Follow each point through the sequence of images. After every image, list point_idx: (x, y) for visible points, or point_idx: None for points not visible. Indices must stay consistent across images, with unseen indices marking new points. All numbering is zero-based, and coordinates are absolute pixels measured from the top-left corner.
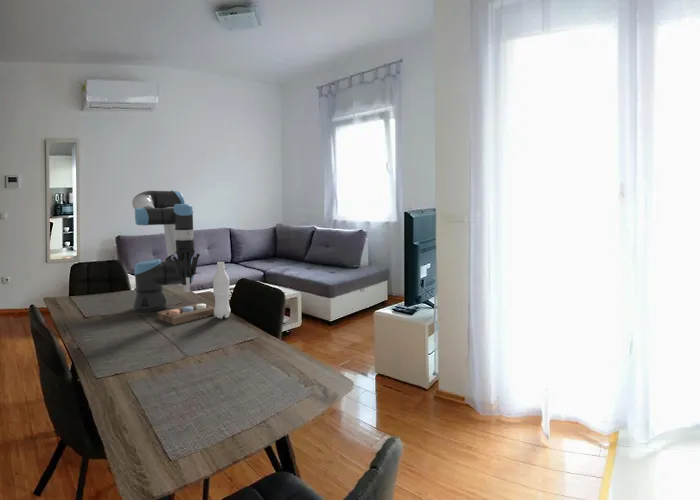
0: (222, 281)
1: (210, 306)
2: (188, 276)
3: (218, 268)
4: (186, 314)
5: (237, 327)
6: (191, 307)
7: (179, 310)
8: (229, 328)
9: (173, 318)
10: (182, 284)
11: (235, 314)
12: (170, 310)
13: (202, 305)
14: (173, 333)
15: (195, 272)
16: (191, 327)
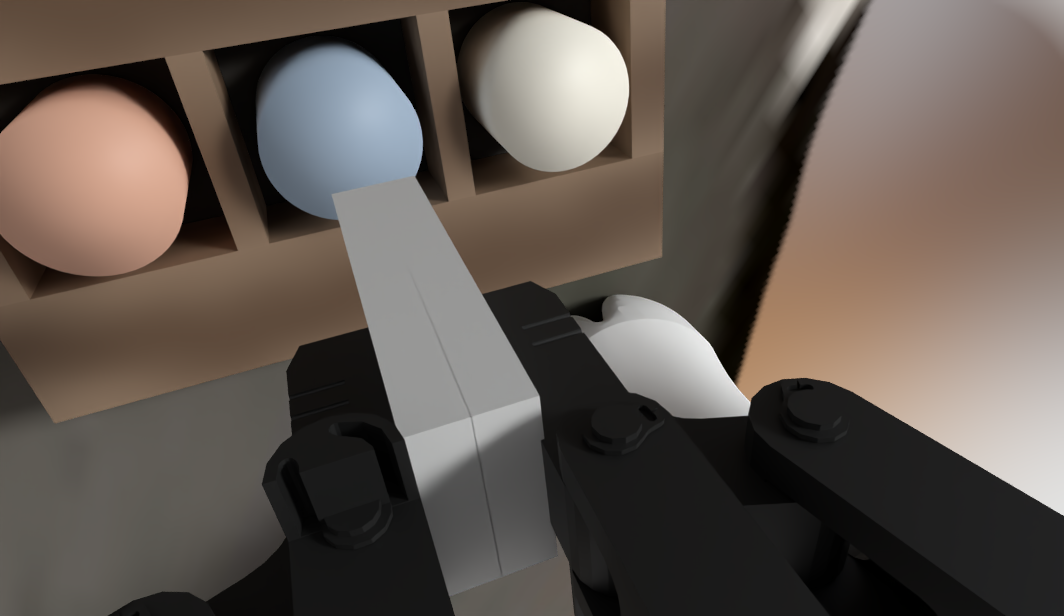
0: None
1: (647, 142)
2: (561, 545)
3: None
4: (253, 347)
5: (537, 605)
6: (394, 164)
7: (180, 226)
8: (487, 609)
9: (52, 411)
10: (302, 366)
11: (722, 319)
12: (20, 143)
13: (560, 151)
14: (34, 601)
15: (867, 581)
16: (241, 506)
